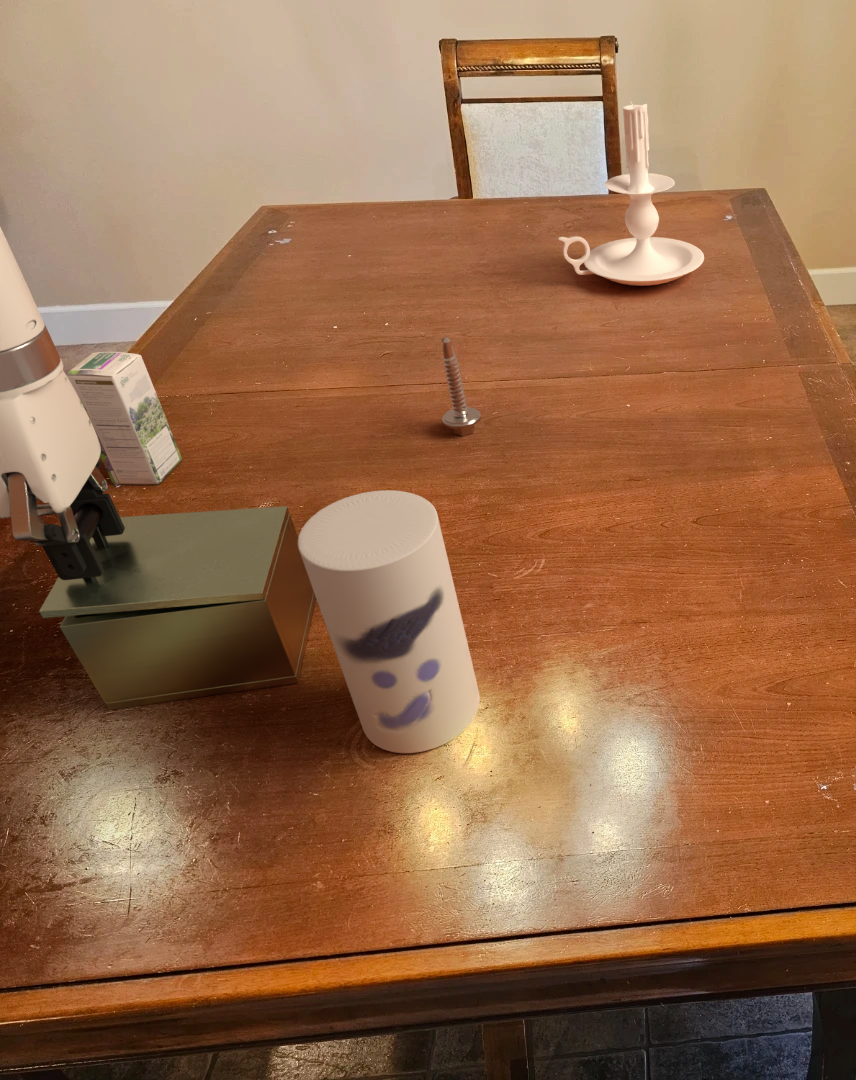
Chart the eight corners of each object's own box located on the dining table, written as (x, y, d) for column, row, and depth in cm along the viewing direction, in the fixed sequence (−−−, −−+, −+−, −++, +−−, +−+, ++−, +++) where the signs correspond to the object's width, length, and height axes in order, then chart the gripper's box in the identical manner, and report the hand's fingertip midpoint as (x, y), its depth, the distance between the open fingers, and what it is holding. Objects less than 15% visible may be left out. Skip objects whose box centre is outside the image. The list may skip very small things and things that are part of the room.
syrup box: (138, 459, 114) (89, 350, 105) (185, 459, 113) (140, 351, 105) (112, 484, 109) (58, 373, 100) (161, 485, 109) (112, 374, 100)
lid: (42, 618, 74) (17, 569, 71) (94, 525, 84) (74, 479, 81) (264, 599, 77) (249, 552, 74) (289, 512, 87) (277, 467, 84)
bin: (108, 710, 81) (59, 626, 75) (149, 614, 91) (108, 534, 85) (298, 683, 83) (265, 600, 77) (317, 592, 93) (289, 513, 87)
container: (386, 774, 75) (321, 586, 63) (346, 700, 82) (279, 517, 69) (499, 718, 80) (458, 534, 68) (452, 653, 86) (408, 473, 74)
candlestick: (548, 267, 163) (527, 95, 146) (679, 247, 171) (674, 82, 154) (580, 311, 148) (561, 125, 131) (722, 287, 156) (722, 108, 139)
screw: (467, 444, 116) (437, 435, 118) (491, 426, 120) (461, 418, 121) (448, 348, 108) (416, 341, 110) (474, 332, 112) (442, 325, 113)
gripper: (-12, 316, 74) (80, 503, 85) (-121, 422, 60) (5, 627, 71) (91, 309, 75) (168, 494, 86) (6, 412, 62) (111, 615, 73)
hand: (93, 553), depth 79 cm, fingers closed on lid, 5 cm apart
